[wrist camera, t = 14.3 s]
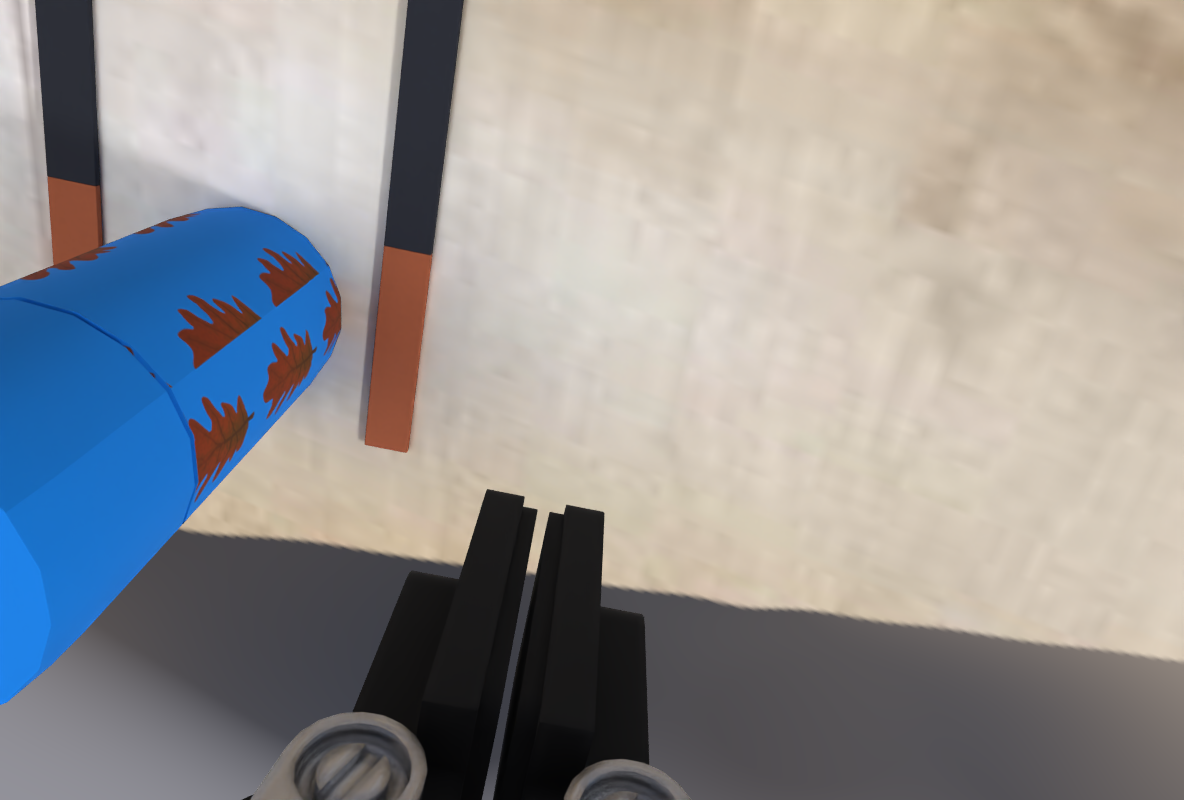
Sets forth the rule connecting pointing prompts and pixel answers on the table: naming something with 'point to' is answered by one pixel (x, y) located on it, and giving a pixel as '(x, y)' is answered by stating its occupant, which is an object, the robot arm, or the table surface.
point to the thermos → (139, 404)
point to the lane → (410, 196)
